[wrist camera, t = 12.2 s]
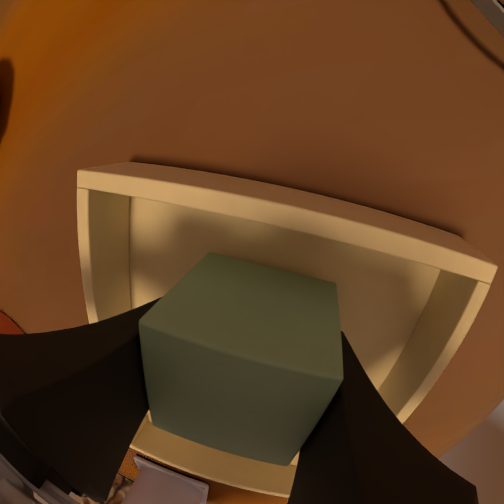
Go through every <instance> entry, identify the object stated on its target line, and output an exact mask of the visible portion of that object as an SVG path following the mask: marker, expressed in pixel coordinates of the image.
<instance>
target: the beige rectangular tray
mask: <svg viewBox="0 0 504 504" xmlns="http://www.w3.org/2000/svg"><path fill="white" fill-rule="evenodd" d="M77 187H79V188H77V223H78V241H79V254H80V264H81V273H82V281H83V289H84V296H85V302H86V308H87V314H88V319H89V324H91V323H95V322H98V321H101V320H105V319H108V318H110V317H113V316H116V315H119V314H121V313H124V312H127V311H129V310H132V309H135V308H137V307H139V306H142V305H144V304H146V303H149V302H151V301H153V300H156V299H158V298H160V297H163V296H164V295H165V294H166V293H167V292H168V291H169V290H170V289H171V288H172V287H173V286H174V285H175V284H176V283H177V282H178V281H179V280H180V279H181V278H182V277H183V276H184V275H185V274H186V273H187V272H188V271H189V270H190V269H191V268H193V267H194V266H195V265H196V264H197V263H198V262H199V261H200V260H201V259H202V258H203V257H204V256H205V255H206V254H207V253H208V252H212V253H216V254H220V255H224V256H228V257H232V258H236V259H240V260H244V261H248V262H252V263H256V264H260V265H264V266H268V267H272V268H276V269H281V270H285V271H289V272H293V273H297V274H301V275H305V276H309V277H314V278H318V279H322V280H326V281H330V282H334V283H336V285H337V295H338V305H339V315H340V327H341V331H343V332H344V334H345V336H346V338H347V339H348V341H349V343H350V345H351V347H352V349H353V351H354V352H355V354H356V356H357V358H358V360H359V362H360V363H361V365H362V367H363V369H364V370H365V372H366V374H367V375H368V377H369V379H370V380H371V382H372V383H373V385H374V386H375V388H376V389H377V391H378V392H379V394H380V395H381V397H382V398H383V400H384V401H385V403H386V404H387V405H388V407H389V408H390V409H391V411H392V412H393V413H394V414H395V416H396V417H397V418H398V419H399V421H400V422H401V423H402V424H403V423H404V421H405V420H406V419H407V418H408V417H409V416H410V414H411V413H412V412H413V411H414V410H415V408H416V407H417V406H418V405H419V403H420V402H421V401H422V400H423V398H424V397H425V396H426V394H427V393H428V392H429V391H430V389H431V388H432V386H433V385H434V384H435V382H436V381H437V380H438V378H439V377H440V375H441V374H442V372H443V371H444V369H445V368H446V366H447V365H448V363H449V362H450V360H451V359H452V357H453V356H454V354H455V352H456V351H457V349H458V347H459V346H460V344H461V342H462V341H463V339H464V337H465V336H466V334H467V332H468V330H469V328H470V327H471V325H472V323H473V321H474V319H475V317H476V315H477V313H478V311H479V309H480V307H481V305H482V303H483V301H484V299H485V297H486V295H487V292H488V290H489V288H490V283H491V282H492V280H493V278H494V275H495V273H496V271H497V265H496V264H495V263H493V262H492V261H491V260H490V259H488V258H487V257H486V256H485V255H483V254H482V253H481V252H479V251H478V250H477V249H476V248H474V247H473V246H472V245H470V244H469V243H468V242H466V241H465V240H463V239H462V238H461V237H459V236H458V235H455V234H452V233H449V232H446V231H443V230H440V229H438V228H435V227H432V226H429V225H425V224H422V223H419V222H416V221H413V220H410V219H407V218H403V217H400V216H397V215H393V214H390V213H387V212H383V211H380V210H376V209H373V208H369V207H365V206H362V205H358V204H354V203H351V202H347V201H343V200H339V199H335V198H331V197H327V196H323V195H319V194H315V193H310V192H306V191H302V190H297V189H293V188H288V187H284V186H279V185H274V184H269V183H264V182H259V181H254V180H249V179H244V178H238V177H233V176H227V175H222V174H216V173H210V172H204V171H197V170H191V169H184V168H177V167H170V166H162V165H154V164H146V163H137V162H123V163H116V164H109V165H103V166H96V167H90V168H85V169H80V170H78V172H77ZM130 447H131V448H133V449H135V450H137V451H139V452H141V453H143V454H145V455H147V456H149V457H152V458H154V459H156V460H158V461H161V462H163V463H165V464H168V465H170V466H173V467H175V468H178V469H181V470H183V471H186V472H189V473H191V474H194V475H197V476H200V477H203V478H206V479H209V480H213V481H216V482H219V483H223V484H226V485H230V486H234V487H238V488H242V489H246V490H250V491H255V492H259V493H264V494H269V495H275V496H281V497H287V498H289V496H290V492H291V489H292V485H293V481H294V476H295V472H296V468H297V463H298V457H299V452H298V453H297V454H296V456H295V457H294V459H293V460H292V461H291V463H290V464H289V465H288V466H281V465H276V464H271V463H266V462H262V461H257V460H253V459H249V458H245V457H241V456H237V455H234V454H230V453H227V452H223V451H220V450H217V449H213V448H210V447H207V446H204V445H201V444H198V443H195V442H193V441H190V440H187V439H184V438H182V437H179V436H177V435H174V434H172V433H169V432H167V431H164V430H162V429H160V428H157V427H155V426H153V425H152V421H151V416H150V410H149V411H148V412H147V414H146V416H145V417H144V419H143V421H142V423H141V425H140V427H139V429H138V431H137V433H136V434H135V436H134V438H133V441H132V443H131V445H130Z"/></svg>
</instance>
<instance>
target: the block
mask: <svg viewBox="0 0 504 504" xmlns="http://www.w3.org/2000/svg"><path fill="white" fill-rule="evenodd" d="M139 334H140V345H141V355H142V363H143V371H144V379H145V386H146V392H147V399H148V405H149V410H150V416H151V421H152V425H153V426H155V427H157V428H160V429H162V430H164V431H167V432H169V433H172V434H174V435H177V436H179V437H182V438H184V439H187V440H190V441H193V442H195V443H198V444H201V445H204V446H207V447H210V448H213V449H217V450H220V451H223V452H227V453H230V454H234V455H237V456H241V457H245V458H249V459H253V460H257V461H262V462H266V463H271V464H276V465H281V466H288V465H289V464H290V463H291V461H292V460H293V459H294V457H295V456H296V454H297V453H298V452H299V450H300V449H301V447H302V446H303V444H304V443H305V441H306V440H307V439H308V437H309V436H310V434H311V432H312V431H313V429H314V428H315V426H316V425H317V423H318V422H319V420H320V418H321V417H322V415H323V414H324V412H325V410H326V409H327V407H328V405H329V404H330V402H331V400H332V398H333V397H334V395H335V393H336V392H337V390H338V388H339V386H340V384H341V383H342V381H343V357H342V341H341V327H340V315H339V305H338V295H337V285H336V283H334V282H330V281H326V280H322V279H318V278H314V277H309V276H305V275H301V274H297V273H293V272H289V271H285V270H281V269H276V268H272V267H268V266H264V265H260V264H256V263H252V262H248V261H244V260H240V259H236V258H232V257H228V256H224V255H220V254H216V253H212V252H208V253H207V254H206V255H205V256H204V257H203V258H202V259H201V260H200V261H199V262H198V263H197V264H196V265H195V266H194V267H193V268H191V269H190V270H189V271H188V272H187V273H186V274H185V275H184V276H183V277H182V278H181V279H180V280H179V281H178V282H177V283H176V284H175V285H174V286H173V287H172V288H171V289H170V290H169V291H168V292H167V293H166V294H165V295H164V296H163V297H162V298H161V299H160V300H159V301H158V302H157V303H156V304H155V305H154V306H153V307H152V308H151V309H150V310H149V311H148V312H147V313H146V314H145V315H144V316H143V317H142V318H141V319H140V320H139Z"/></svg>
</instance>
